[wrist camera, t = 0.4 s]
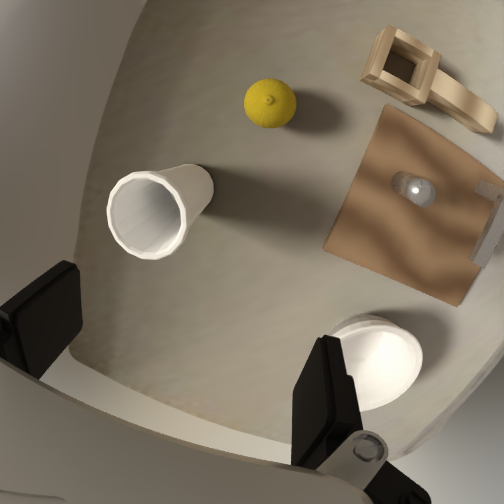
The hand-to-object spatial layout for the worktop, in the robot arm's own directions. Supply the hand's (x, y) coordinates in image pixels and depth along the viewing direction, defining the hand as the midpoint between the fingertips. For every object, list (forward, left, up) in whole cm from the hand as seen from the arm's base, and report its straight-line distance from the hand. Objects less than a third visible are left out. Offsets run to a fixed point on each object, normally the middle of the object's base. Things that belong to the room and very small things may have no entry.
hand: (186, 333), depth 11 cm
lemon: (-10, -2, -30) cm, 31 cm away
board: (-6, +23, -30) cm, 38 cm away
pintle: (-8, +16, -28) cm, 34 cm away
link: (-21, +15, -29) cm, 39 cm away
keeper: (-9, +28, -28) cm, 41 cm away
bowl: (+15, +22, -30) cm, 40 cm away
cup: (+3, -8, -30) cm, 31 cm away
